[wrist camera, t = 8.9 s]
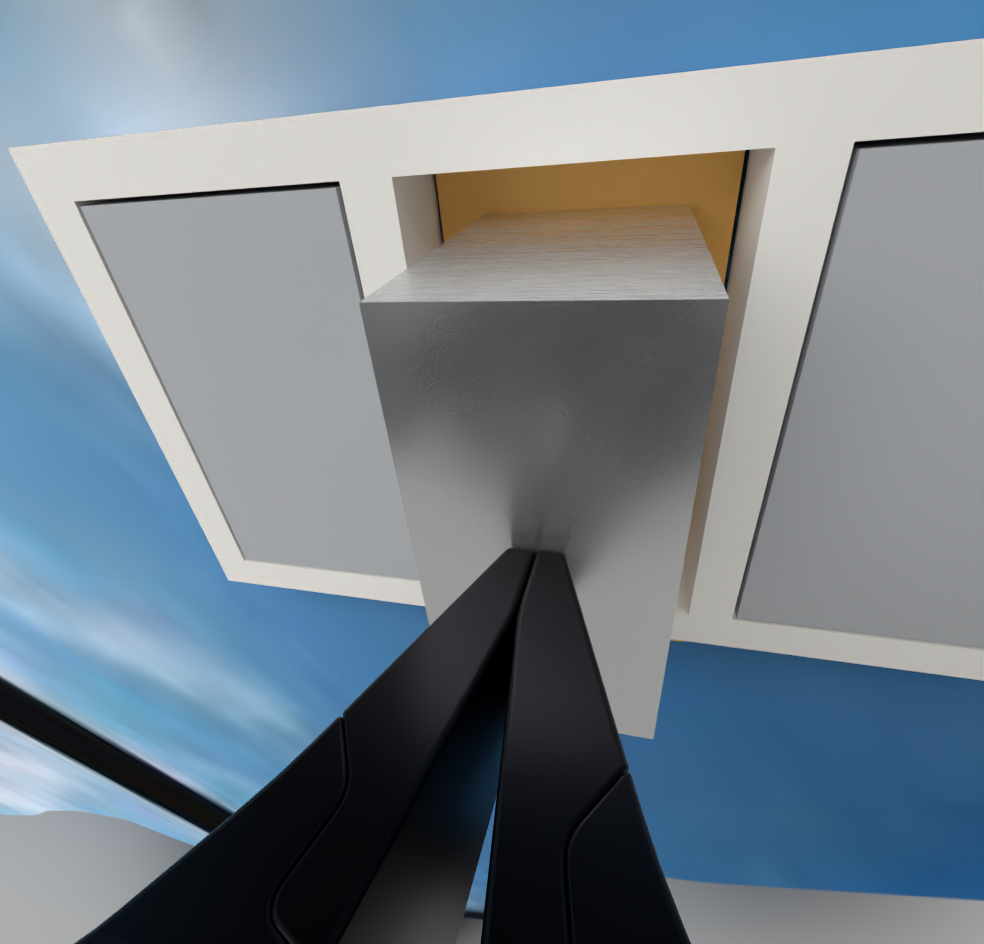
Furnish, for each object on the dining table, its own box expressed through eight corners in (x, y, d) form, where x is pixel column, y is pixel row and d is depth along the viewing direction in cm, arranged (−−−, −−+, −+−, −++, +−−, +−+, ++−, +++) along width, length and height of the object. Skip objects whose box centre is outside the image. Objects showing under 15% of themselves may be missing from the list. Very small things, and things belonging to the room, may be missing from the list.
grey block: (689, 204, 10) (728, 298, 5) (650, 528, 14) (653, 739, 10) (484, 214, 11) (358, 302, 6) (508, 515, 15) (446, 701, 11)
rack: (1432, -6, 7) (1702, -42, 5) (1001, 622, 14) (1053, 698, 12) (100, 141, 12) (8, 148, 10) (270, 542, 19) (232, 586, 17)
